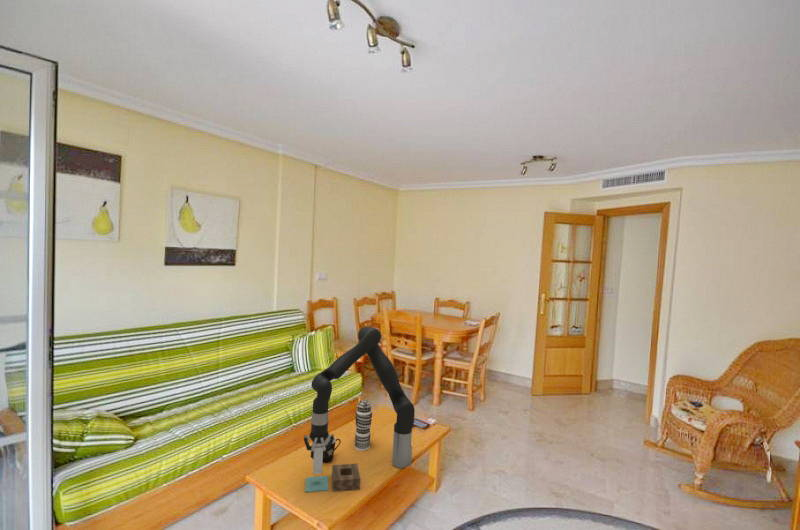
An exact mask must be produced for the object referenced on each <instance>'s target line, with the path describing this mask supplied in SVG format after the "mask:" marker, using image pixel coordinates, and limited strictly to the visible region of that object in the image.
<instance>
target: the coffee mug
mask: <svg viewBox="0 0 800 530" xmlns="http://www.w3.org/2000/svg"><path fill="white" fill-rule="evenodd" d="M337 441H338V442H339V443H338V445H336V442H337ZM328 442H329V437H328V438H327V439H326V440H325V445H327V444H328ZM341 443H342V442H341V439H340V438H336V437H334V439H333V442H332V444H331V447H330V449H327V450H326V456H325V457H324V458H323V460H322V464H328V463H331V462H332V461H333V458H334V453H335V451H336V450H337V449H338V447H339V446H340V444H341Z"/></svg>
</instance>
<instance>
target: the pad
mask: <svg viewBox="0 0 800 530" xmlns="http://www.w3.org/2000/svg"><path fill="white" fill-rule="evenodd" d="M304 489H305V490H304V492H305V493H317V492H328V491H329V475H319V476H318V475H317V476H307V477H305V488H304Z"/></svg>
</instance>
